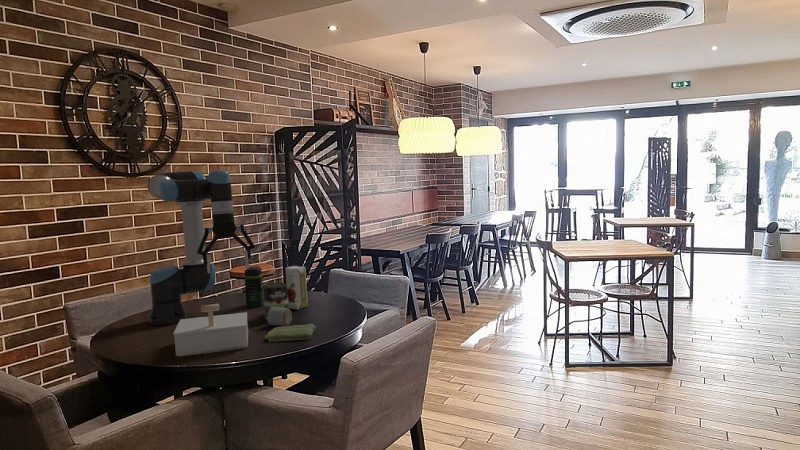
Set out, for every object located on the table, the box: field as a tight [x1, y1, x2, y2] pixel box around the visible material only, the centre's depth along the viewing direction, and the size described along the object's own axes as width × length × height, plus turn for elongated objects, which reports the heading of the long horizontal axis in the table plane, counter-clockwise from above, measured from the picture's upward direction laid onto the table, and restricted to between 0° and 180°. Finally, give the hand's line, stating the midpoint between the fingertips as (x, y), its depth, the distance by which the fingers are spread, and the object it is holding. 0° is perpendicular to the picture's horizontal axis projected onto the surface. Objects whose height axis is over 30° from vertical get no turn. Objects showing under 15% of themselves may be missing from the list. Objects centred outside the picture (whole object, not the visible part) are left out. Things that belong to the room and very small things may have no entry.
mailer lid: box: [172, 303, 248, 337], centre depth 190 cm, size 18×24×9 cm
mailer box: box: [173, 323, 249, 357], centre depth 191 cm, size 18×24×8 cm
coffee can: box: [263, 282, 289, 320], centre depth 225 cm, size 10×10×14 cm
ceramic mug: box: [266, 307, 293, 327], centre depth 214 cm, size 11×8×8 cm
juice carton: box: [285, 265, 309, 310], centre depth 239 cm, size 8×9×19 cm
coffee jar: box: [243, 265, 264, 308], centre depth 246 cm, size 10×8×19 cm
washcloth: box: [264, 323, 317, 343], centre depth 198 cm, size 13×18×3 cm
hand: (228, 270), depth 190 cm, fingers open, 13 cm apart
